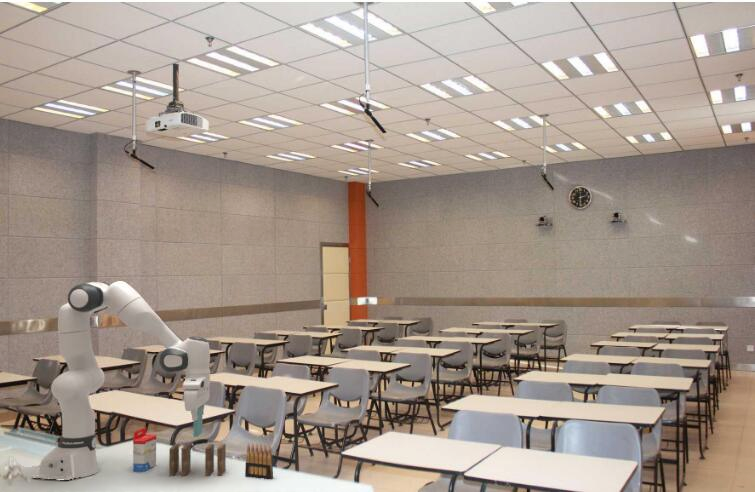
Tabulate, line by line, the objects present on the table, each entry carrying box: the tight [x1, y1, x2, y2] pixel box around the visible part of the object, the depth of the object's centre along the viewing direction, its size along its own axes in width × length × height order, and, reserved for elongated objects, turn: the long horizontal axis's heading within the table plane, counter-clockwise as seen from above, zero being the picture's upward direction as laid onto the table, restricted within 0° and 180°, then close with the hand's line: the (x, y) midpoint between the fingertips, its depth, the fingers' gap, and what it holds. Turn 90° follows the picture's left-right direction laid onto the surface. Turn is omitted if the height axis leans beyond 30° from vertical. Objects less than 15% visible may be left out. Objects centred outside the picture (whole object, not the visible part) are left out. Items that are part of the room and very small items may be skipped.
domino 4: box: [204, 443, 215, 477], centre depth 235 cm, size 2×6×10 cm, turn 0°
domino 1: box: [168, 443, 180, 477], centre depth 235 cm, size 2×6×10 cm, turn 0°
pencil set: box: [244, 442, 274, 480], centre depth 230 cm, size 11×2×12 cm, turn 70°
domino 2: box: [180, 443, 192, 477], centre depth 235 cm, size 2×6×10 cm, turn 0°
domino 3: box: [193, 406, 203, 438], centre depth 235 cm, size 2×6×10 cm, turn 0°
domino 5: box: [216, 443, 227, 477], centre depth 235 cm, size 2×6×10 cm, turn 0°
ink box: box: [132, 426, 157, 473], centre depth 242 cm, size 8×5×15 cm, turn 168°
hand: (197, 417), depth 235 cm, fingers closed on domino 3, 6 cm apart
